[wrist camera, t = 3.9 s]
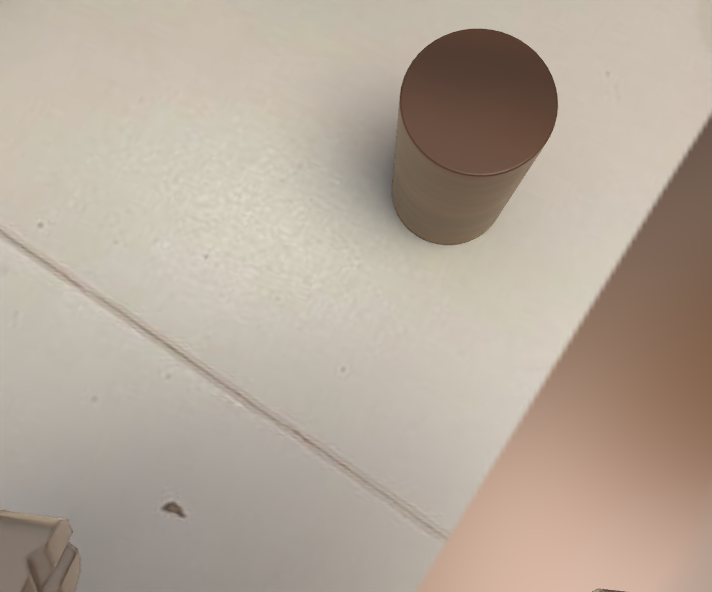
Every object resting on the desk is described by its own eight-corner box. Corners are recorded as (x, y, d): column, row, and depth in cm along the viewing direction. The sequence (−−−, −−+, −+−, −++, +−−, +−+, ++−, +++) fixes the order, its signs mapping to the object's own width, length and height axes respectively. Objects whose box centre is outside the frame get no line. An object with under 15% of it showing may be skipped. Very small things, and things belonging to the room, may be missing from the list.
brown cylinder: (493, 254, 26) (544, 190, 18) (381, 233, 27) (385, 160, 19) (512, 148, 27) (569, 42, 19) (403, 128, 27) (416, 15, 19)
